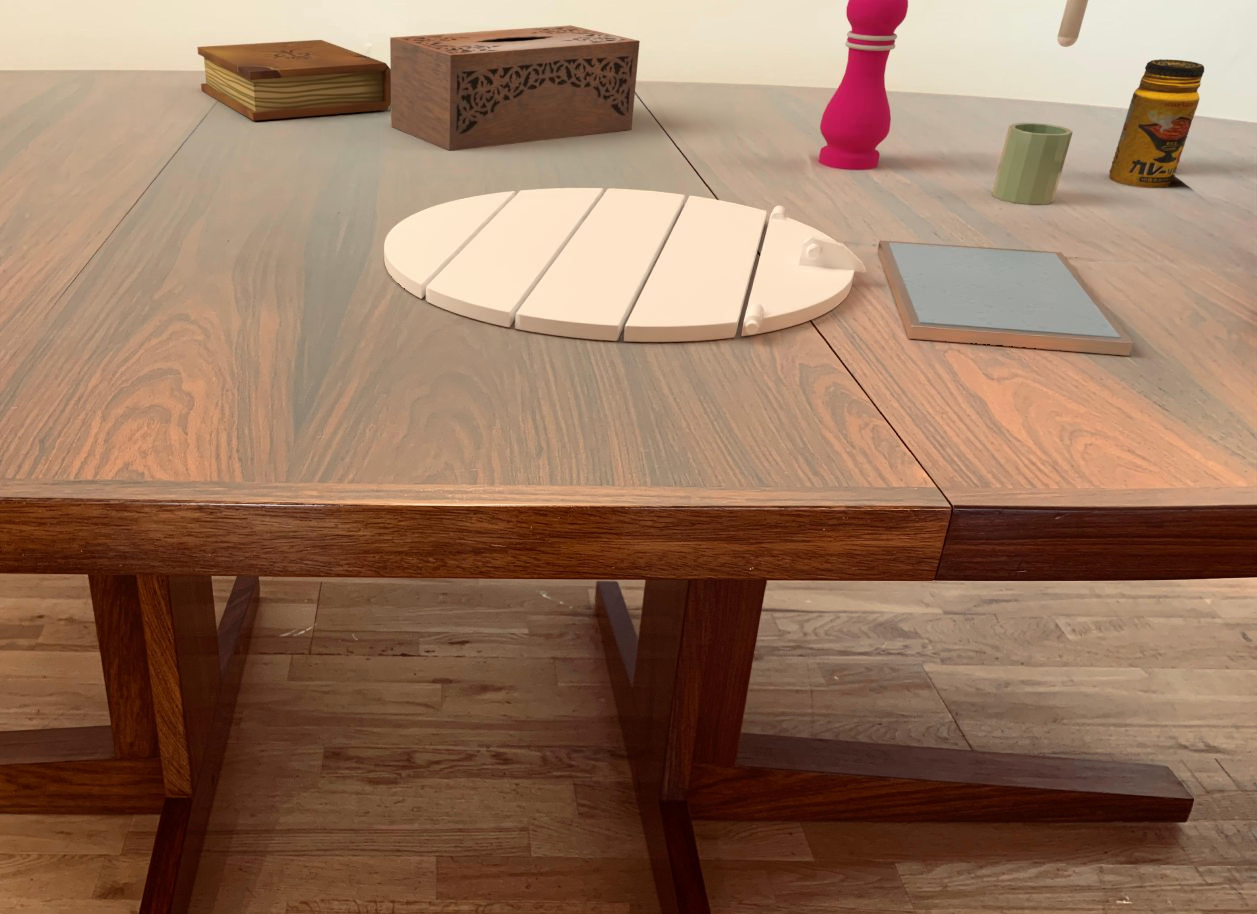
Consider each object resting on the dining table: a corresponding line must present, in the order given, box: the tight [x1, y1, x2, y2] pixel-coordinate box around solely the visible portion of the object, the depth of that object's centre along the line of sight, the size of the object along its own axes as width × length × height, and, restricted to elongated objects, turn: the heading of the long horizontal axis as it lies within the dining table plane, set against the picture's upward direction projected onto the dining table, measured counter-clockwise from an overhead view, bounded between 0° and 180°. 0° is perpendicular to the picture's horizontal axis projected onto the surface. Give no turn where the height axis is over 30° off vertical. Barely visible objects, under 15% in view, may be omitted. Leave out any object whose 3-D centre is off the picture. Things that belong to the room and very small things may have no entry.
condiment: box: [1109, 58, 1205, 189], centre depth 124 cm, size 7×8×12 cm
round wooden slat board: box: [383, 187, 867, 343], centre depth 101 cm, size 40×39×3 cm
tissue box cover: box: [389, 24, 641, 151], centre depth 144 cm, size 26×14×10 cm, turn 119°
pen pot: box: [991, 122, 1073, 206], centre depth 118 cm, size 6×6×7 cm
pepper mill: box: [818, 0, 909, 171], centre depth 126 cm, size 7×7×20 cm
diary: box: [196, 39, 391, 121], centre depth 158 cm, size 23×19×6 cm
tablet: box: [877, 240, 1134, 357], centre depth 94 cm, size 15×22×1 cm
